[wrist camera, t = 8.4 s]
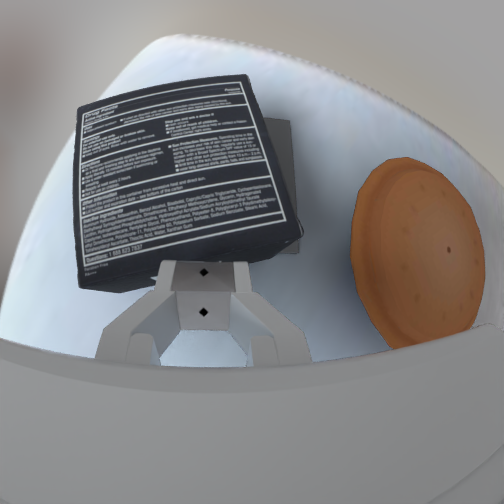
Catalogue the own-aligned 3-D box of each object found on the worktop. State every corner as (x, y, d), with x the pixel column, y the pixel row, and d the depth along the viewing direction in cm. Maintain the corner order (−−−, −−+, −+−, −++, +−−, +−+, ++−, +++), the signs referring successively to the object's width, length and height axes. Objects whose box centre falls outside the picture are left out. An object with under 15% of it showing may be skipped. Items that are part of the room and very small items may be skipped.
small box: (273, 260, 18) (238, 128, 20) (309, 238, 12) (252, 69, 13) (118, 294, 16) (104, 155, 17) (74, 289, 10) (74, 102, 11)
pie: (447, 358, 19) (485, 363, 14) (307, 340, 18) (339, 351, 13) (459, 210, 22) (491, 196, 18) (341, 150, 21) (368, 117, 16)
